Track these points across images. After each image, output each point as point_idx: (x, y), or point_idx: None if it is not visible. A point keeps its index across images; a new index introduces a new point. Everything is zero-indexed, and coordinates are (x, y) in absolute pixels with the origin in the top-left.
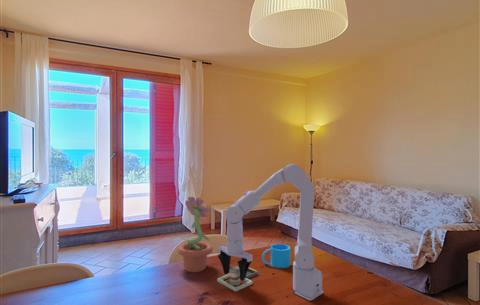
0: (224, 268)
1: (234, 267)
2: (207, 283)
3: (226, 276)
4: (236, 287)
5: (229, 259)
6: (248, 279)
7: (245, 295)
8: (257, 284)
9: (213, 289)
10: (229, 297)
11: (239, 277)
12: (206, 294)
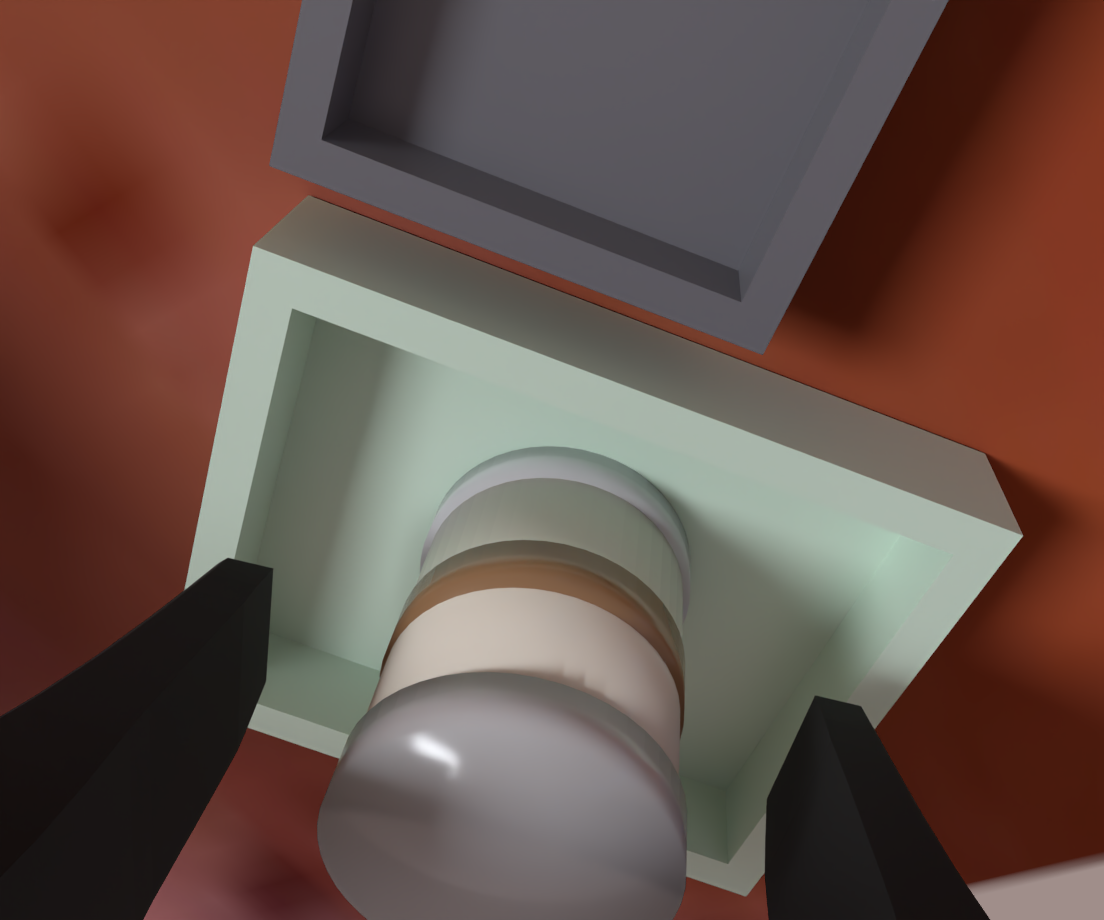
0: (184, 840)
1: (440, 811)
2: (54, 656)
3: (246, 515)
4: (749, 866)
5: (55, 870)
6: (884, 491)
7: (937, 773)
8: (1098, 283)
9: (301, 779)
10: (688, 884)
11: (684, 708)
12: (317, 907)
